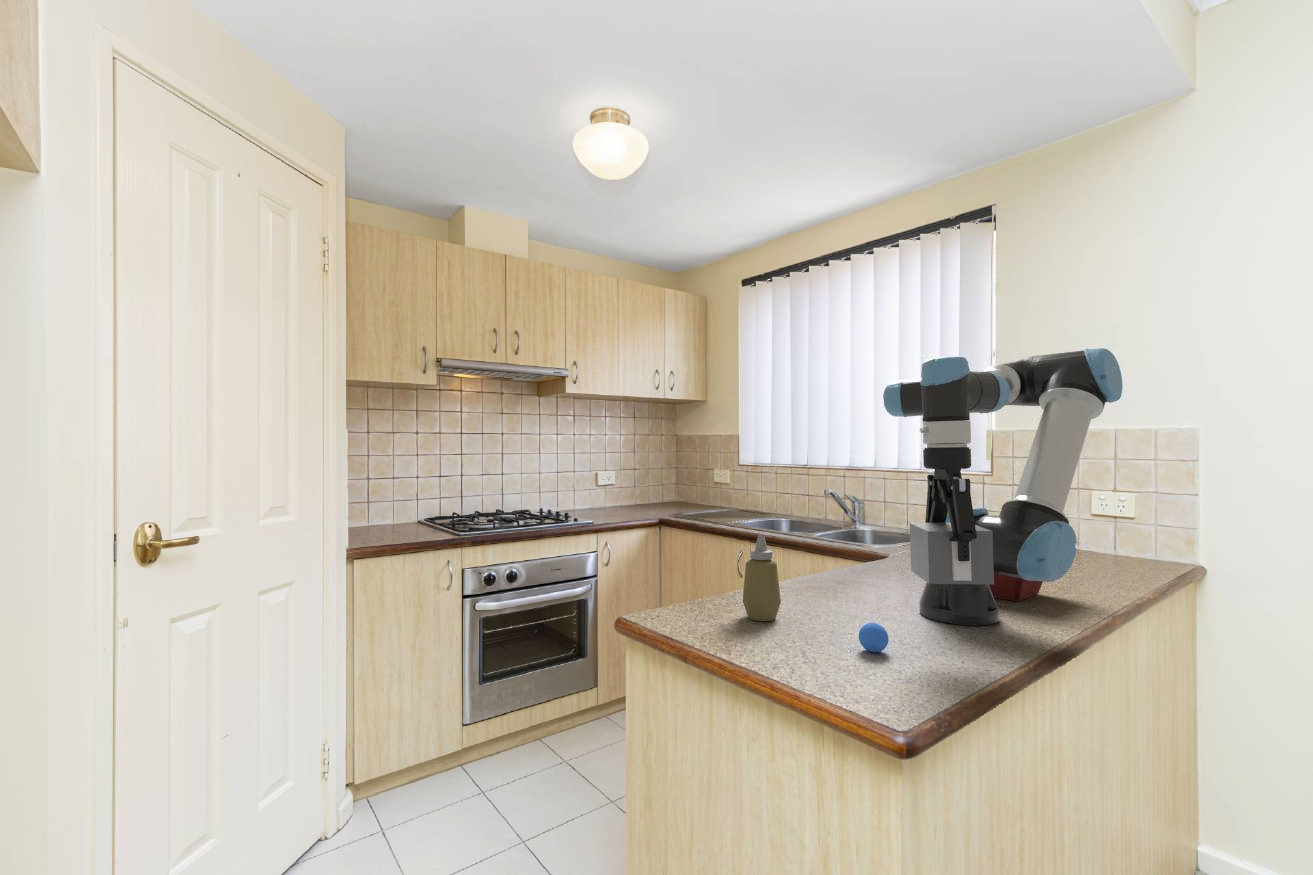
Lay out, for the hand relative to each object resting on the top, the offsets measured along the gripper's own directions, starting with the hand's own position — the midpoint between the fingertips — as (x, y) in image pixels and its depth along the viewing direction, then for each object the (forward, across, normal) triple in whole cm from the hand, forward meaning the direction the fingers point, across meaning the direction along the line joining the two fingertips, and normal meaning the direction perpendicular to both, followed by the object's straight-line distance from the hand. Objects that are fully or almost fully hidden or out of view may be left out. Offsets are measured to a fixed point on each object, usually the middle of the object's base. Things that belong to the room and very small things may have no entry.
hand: (950, 572), depth 104 cm
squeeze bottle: (+14, -19, -32) cm, 40 cm away
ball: (+12, 0, -13) cm, 18 cm away
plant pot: (+16, -48, +28) cm, 57 cm away
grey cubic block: (+1, 0, 0) cm, 1 cm away
